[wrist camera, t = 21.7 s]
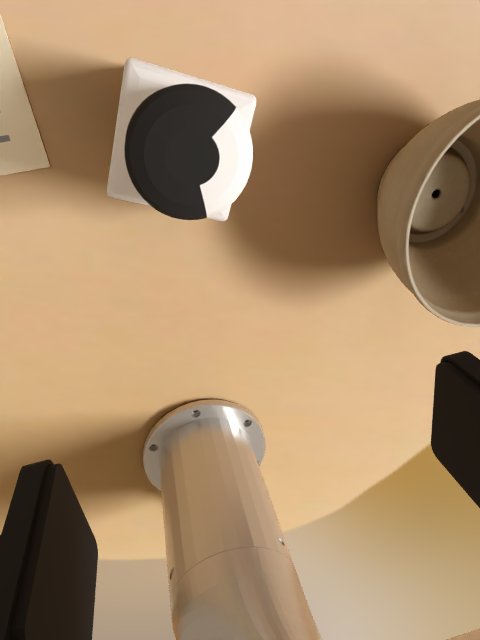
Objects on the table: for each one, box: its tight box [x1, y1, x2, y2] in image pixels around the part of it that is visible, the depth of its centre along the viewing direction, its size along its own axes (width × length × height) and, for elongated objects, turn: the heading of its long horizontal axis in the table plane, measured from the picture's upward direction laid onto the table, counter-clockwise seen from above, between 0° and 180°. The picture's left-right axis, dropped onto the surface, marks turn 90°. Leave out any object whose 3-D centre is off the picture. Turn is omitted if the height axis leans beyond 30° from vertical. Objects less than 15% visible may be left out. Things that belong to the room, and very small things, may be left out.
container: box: [107, 58, 256, 221], centre depth 28 cm, size 8×8×13 cm
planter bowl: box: [377, 100, 480, 327], centre depth 35 cm, size 16×16×11 cm
